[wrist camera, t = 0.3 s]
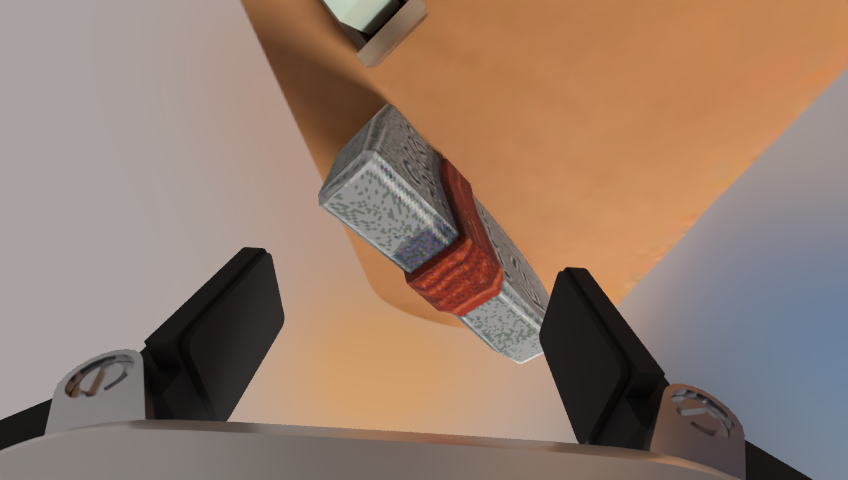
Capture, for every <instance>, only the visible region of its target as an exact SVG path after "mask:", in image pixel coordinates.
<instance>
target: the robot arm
mask: <svg viewBox="0 0 848 480" xmlns="http://www.w3.org/2000/svg"><path fill="white" fill-rule="evenodd" d="M283 324H284V312H283V308H282V303H281V298H280V294H279V288H278V283H277V279H276V274H275V269H274V264H273V260H272V256H271V254H270V253H267V252H266V250H265V249H263V248H251V247H244V248H243V249H241V250H240V251H239V252H238V253H237V254H236V255H235V256H234V257H233V258H232V259H231V260H230V261H229V262H228V263H227V264H225V266H223V267H222V268H221V269H220V270H219V271H218V272H217V273H216V274H215V275H214V276H213V277H212V278H211V279H210V280H209V281H207V282H206V283H205V284H204V285H203V286H202V287H201V288H200V289H199V290H198V291H197V292H196V293H195V294H194V295H193V296H192V297H191V298H190V299H188V301H186V302H185V303H184V304H183V305H182V306H181V307H180V308H179V309H178V310H177V311H176V312H175V313H174V314H173V315H172V316H171V317H170V318H169V319H167V320H166V321H165V322H164V323H163V324H162V325H161V326H160V327H159V328H158V329H157V330H156V331H155V332H154V333H153V334H151V335H150V336H149V337H148V338H147V339H146V340H145V341H144V342H145V344H146V347H145V348H144V349H143V350H142V351H141V352H140V353H139V352H137V351H135V350H129V349H124V350H115V351H111V352H108V353H104V354H101V355H99V356H97V357H94V358H92V359H90V360H88V361H86V362H84V363H82V364H81V365H79V366H77V367H76V368H75V369H73V370H72V371H71V372H69V373H68V374H67V375H66V376H65V377H64V378H63V379H62V380H61V381H60V382H59V383H58V385H57V387H56V389H55V391H54V395H53V398H52V399H50V400H48V401H45V402H43V403H40V404H38V405H35V406H33V407H31V408H29V409H26V410H24V411H21V412H19V413H16V414H14V415H12V416H9V417H7V418H4V419H2V420H0V480H812V479H811V478H809V477H807V476H806V475H804V474H802V473H800V472H799V471H797V470H795V469H793V468H792V467H790V466H789V465H787V464H785V463H784V462H781V461H780V460H778V459H777V458H775V457H773V456H772V455H770V454H768V453H766V452H765V451H763V450H762V449H760V448H758V447H756V446H754V445H753V444H751V443H750V442H748V441H746V440H745V434H744V430H743V426H742V425H741V423H740V421H739V420H738V418H737V417H736V415H735V414H734V413H733V412H732V411H731V410H730V409H729V408H728V407H727V406H726V405H724V404H723V403H722V402H721V401H719V400H718V399H717V398H715V397H714V396H712V395H710V394H709V393H707V392H705V391H703V390H701V389H698V388H696V387H694V386H690V385H686V384H671V385H670V384H669V383H668V382H667V380H666V379H665V378H664V375H665V373H664V372H663V370H662V369H661V368H660V366H659V365H658V364H657V362H656V361H655V360H654V358H653V357H652V356H651V354H650V353H649V352H648V350H647V349H646V348H645V346H644V345H643V344H642V342H641V341H640V340H639V338H638V337H637V336H636V334H635V333H634V332H633V330H632V329H631V328H630V326H629V325H628V324H627V322H626V321H625V320H624V318H623V317H622V316H621V314H620V313H619V312H618V311H617V309H616V308H615V306H614V305H613V304H612V302H611V301H610V300H609V298H608V297H607V296H606V294H605V293H604V292H603V290H602V289H601V288H600V286H599V285H598V284H597V282H596V281H595V280H594V278H593V277H592V276H591V274H590V273H589V272H588V270H587V269H585V268H573V267H566V268H565V269H564V270H563V271H560V272H559V273H558V275H557V278H556V281H555V284H554V287H553V290H552V294H551V297H550V300H549V303H548V306H547V309H546V313H545V316H544V319H543V322H542V325H541V328H540V332H539V341H540V344H541V347H542V349H543V352H544V354H545V357H546V360H547V362H548V365H549V368H550V370H551V373H552V376H553V378H554V381H555V383H556V386H557V389H558V391H559V394H560V397H561V399H562V402H563V404H564V407H565V410H566V412H567V415H568V418H569V420H570V423H571V425H572V428H573V431H574V433H575V436H576V439H577V441H578V442H579V444H575V443H562V442H550V441H535V440H521V439H504V438H491V437H476V436H462V435H446V434H430V433H414V432H398V431H397V432H396V431H382V430H365V429H349V428H331V427H314V426H295V425H279V424H278V425H277V424H259V423H243V422H226V421H227V420H228V419H229V417H230V415H231V414H232V412H233V410H234V409H235V407H236V405H237V404H238V402H239V400H240V398H241V397H242V395H243V393H244V392H245V390H246V388H247V386H248V385H249V383H250V381H251V380H252V378H253V376H254V374H255V372H256V371H257V369H258V367H259V366H260V364H261V362H262V360H263V359H264V357H265V356H266V354H267V352H268V350H269V349H270V347H271V345H272V344H273V342H274V340H275V339H276V337H277V335H278V333H279V332H280V330H281V328H282V326H283Z"/></svg>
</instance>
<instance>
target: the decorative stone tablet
mask: <svg viewBox="0 0 848 480" xmlns="http://www.w3.org/2000/svg"><path fill="white" fill-rule="evenodd" d="M318 197H319V206H321V207H322V208H323V209H325V210H326V211H327V212H329V213H330V214H331V215H332V216H334V217H335V218H336V219H337V220H339V221H340V222H341V223H343V224H344V225H345V226H346V227H348V228H349V229H350V230H352V231H353V232H354V233H355V234H357V235H358V236H359V237H361V238H362V239H363V240H365V241H366V242H367V243H368V244H370V245H371V246H372V247H374V248H375V249H376V250H377V251H379V252H380V253H381V254H383V255H384V256H385V257H386V258H388V259H389V260H390V261H392V262H393V263H394V264H396V265H397V266H398V267H399V268H401V269H402V270H403V271H404V274H405V278H406V282H407V284H408V285H409V286H410V287H411V288H413V289H414V290H415V291H416V292H417V293H418V294H420V295H421V296H422V297H423V298H424V299H425V300H427V301H428V302H429V303H430V304H431V305H432V306H433V307H435V308H436V309H437V310H438V311H442V312H447V313H452V314H453V315H454V316H455V317H456V318H457V319H458V320H460V321H461V322H462V323H463V324H464V325H465V326H466V327H468V328H469V329H470V330H471V331H472V332H473V333H475V334H476V335H477V336H478V337H479V338H480V339H481V340H482V341H484V342H485V343H486V344H487V345H488V346H489V347H490V348H491V349H493V350H494V351H497V352H499V353H501V354H503V355H505V356H506V357H508V358H510V359H511V360H513V361H515V362H517V363H519V364H522V363H524V362H526V361H528V360H531V359H532V358H534V357H536V356H538V355H540V354H542V353H544V352H543V349H542V347H541V344H540V341H539V332H540V328H541V325H542V322H543V319H544V316H545V313H546V309H547V306H548V303H549V300H550V296H549V294H548V293H547V291H546V289H545V287H544V286H543V284H542V282H541V280H540V279H539V277H538V276H537V274H536V273H535V271H534V270H533V269H532V267H531V266H530V264H529V263H528V261H527V260H526V259H525V257H524V256H523V254H522V253H521V252H520V250H519V249H518V248H517V246H516V245H515V244H514V243H513V241H512V240H511V239H510V238H509V236H508V235H507V234H506V233H505V231H504V230H503V229H502V228H501V226H500V225H499V224H498V223H497V222H496V221H495V219H494V218H493V217H492V216H491V215H490V214H489V212H488V211H487V210H486V209H485V208H484V207H483V205H482V204H481V203H480V202H479V201H478V200H477V198H476V197H475V196H474V195H473V192H472V189H471V185H470V183H469V182H468V181H467V180H466V179H465V178H464V177H463V176H462V175H461V174H460V173H459V171H458V170H457V169H456V168H455V167H454V166H453V165H452V164H451V163H450V162H449V161H448V160H447V159H444V160H441V159H440V158H439V157H438V156H437V154H436V153H435V152H434V151H433V150H432V149H431V148H430V146H429V145H428V144H427V143H426V142H425V141H424V139H423V138H422V137H421V136H420V135H419V134H418V133H417V131H416V130H415V129H414V128H413V127H412V126H411V124H410V123H409V122H408V121H407V120H406V119H405V118H404V116H403V115H402V114H401V113H400V112H399V111H398V109H397V108H396V107H395V106H393V105H390V104H388V103H387V104H386V105H385V106H384V107H383V108H382V109H381V110H380V111H379V112H378V113H376V114H375V115H374V116H373V117H372V118H371V119H370V120H369V121H368V122H367V123H366V124H365V125H364V126H363V127H362V128H361V130H360V131H359V132H358V133H357V134H356V135H355V136H354V137H353V138H352V139H351V140H350V141H349V142H348V143H347V144H346V145H345V146H344V147H343V148H342V149H341V150H340V151H339V153H338V155H337V157H336V159H335V161H334V163H333V165H332V167H331V169H330V171H329V173H328V175H327V178H326V180H325V182H324V184H323V186H322V188H321V190H320V192H319V194H318Z"/></svg>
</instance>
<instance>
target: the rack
mask: <svg viewBox="0 0 848 480" xmlns="http://www.w3.org/2000/svg"><path fill="white" fill-rule="evenodd" d="M320 1H321V2H322V3H323V4H324V6H325V7H326V8H327V10H328V11H329V12H330V13H331V15H332V16H333V17H334V19H335V20H336V21H337V22H338V24H339V25H340V26H341V28H342V29H343V30H344V32H345V33H346V34H347V35H348V37H349V38H350V39H351V41H352V42H353V43H354V44H355V46H356V47H357V48H358V50H359V52H358V53H357V54H356V56H357V57H358V59H359V60H360V61H361V63H362V64H363V65H364V66H365V67H377V66H378V65H379V64H380V63H381V62H382V61H383V60H384V59H385V58H386V57H387V56H388V55H389V54H390V53H391V52H392V51H393V50H394V49H395V48H396V47H397V46H398V45H399V44H400V43H401V42H402V41H403V40H404V39H405V38H406V37H407V36H408V35H409V34H410V33H411V32H412V31H413V30H414V29H415V28H416V27H417V26H418V25H419V24H420V23H421V22H422V21H423V20H424V19H425V18H426V17H427V16H428V15H427V8H426V5H425V4H424V2H423V1H422V0H404V1H405V3H406V4H405V5H404V6H403V7H402V8H401V9H400V10H399V11H398V12H397V13H396V14H395V15H394V16H393V17H392V18H391V19H390V20H389V21H388V22H387V23H386V25H385V26H384V27H383V28H382V29H381V30H380V31H379V32H378V33H377V34H376V35H375V36H374V37H373V38H372V39H371V40H370V41H368V39H367V38H366V37H365V36H364V34H363V33H362V32H361V31H360V30H358V29H356V28H353V27H351V26H349V25H347V24H345V23H343V22H340V21H339V20H338V18H337V17H336V16H335V14H334V13H333V12H332V10H331V9H330V8H329V7H328V5H327V4H326V3H325V1H324V0H320Z"/></svg>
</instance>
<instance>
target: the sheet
mask: <svg viewBox="0 0 848 480" xmlns="http://www.w3.org/2000/svg"><path fill="white" fill-rule="evenodd" d="M324 1H325V3H326V4H327V5H328V7H329V8H330V9H331V10H332V12H333V13H334V14H335V16H336V17H337V18H338V20H339V21H340V22H343V23H345V24H347V25H349V26H351V27H353V28H356V29H358V30H360V31H362V32H364V33H367V34H369V35H372V34H373V33H374V32H375V31H376V30H377V29H378V28H379V27H380V25H381V24H382V23H383V22H384V21H385V20H386V19H387V18H388V17H389V16H390V15H391V14H392V13H393V12H394V11H395V10H396V9H397V8H398V7H399V6H400V3H399V2H398V0H324Z"/></svg>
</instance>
